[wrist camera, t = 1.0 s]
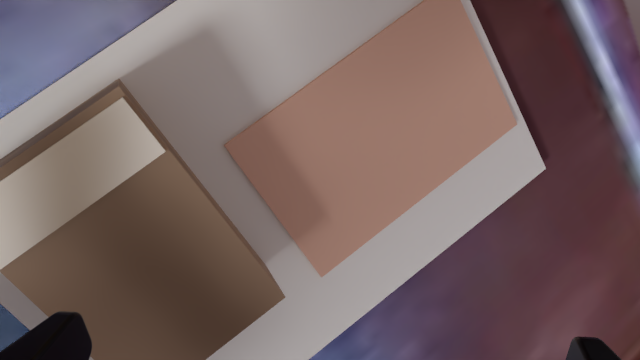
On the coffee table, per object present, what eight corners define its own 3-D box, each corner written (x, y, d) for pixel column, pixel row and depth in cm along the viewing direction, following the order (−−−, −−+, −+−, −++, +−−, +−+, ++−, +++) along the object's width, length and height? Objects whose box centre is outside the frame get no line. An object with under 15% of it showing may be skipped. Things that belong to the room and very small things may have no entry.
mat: (177, 456, 23) (178, 467, 23) (-111, 193, 18) (-119, 199, 17) (538, 166, 26) (549, 169, 26) (395, -147, 20) (404, -153, 20)
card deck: (141, 359, 21) (144, 409, 18) (-36, 183, 18) (-66, 213, 15) (265, 264, 22) (287, 299, 19) (119, 78, 19) (118, 86, 16)
